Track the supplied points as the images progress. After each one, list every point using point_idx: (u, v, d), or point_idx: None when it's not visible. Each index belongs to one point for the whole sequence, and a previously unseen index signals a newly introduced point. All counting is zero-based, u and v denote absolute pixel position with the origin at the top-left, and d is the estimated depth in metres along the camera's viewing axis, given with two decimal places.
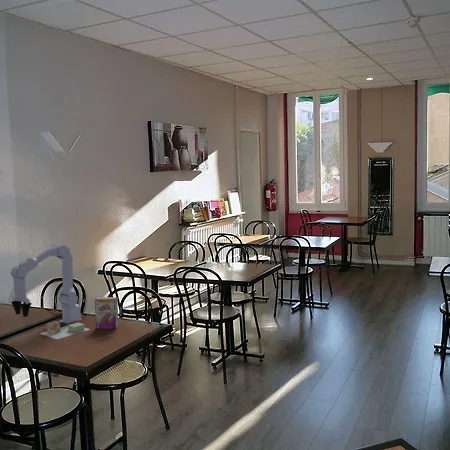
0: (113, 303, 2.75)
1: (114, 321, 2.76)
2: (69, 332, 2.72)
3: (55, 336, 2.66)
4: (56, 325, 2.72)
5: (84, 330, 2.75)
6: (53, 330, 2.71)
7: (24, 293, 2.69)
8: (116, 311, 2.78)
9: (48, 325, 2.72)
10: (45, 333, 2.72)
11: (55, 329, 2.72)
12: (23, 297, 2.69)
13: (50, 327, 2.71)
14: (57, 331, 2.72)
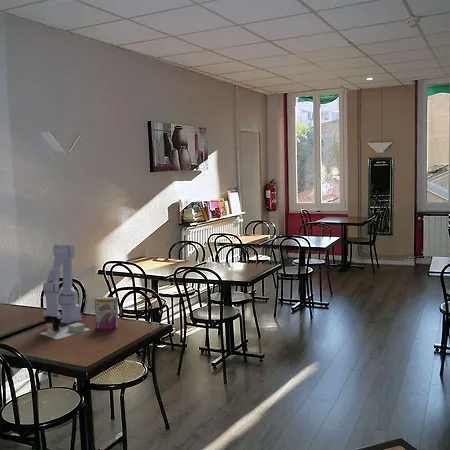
0: (113, 303, 2.75)
1: (114, 321, 2.76)
2: (69, 332, 2.72)
3: (55, 336, 2.66)
4: None
5: (84, 330, 2.75)
6: (53, 330, 2.71)
7: (56, 308, 2.71)
8: (116, 311, 2.78)
9: (48, 325, 2.72)
10: (45, 333, 2.72)
11: None
12: (55, 312, 2.70)
13: (50, 327, 2.71)
14: (57, 331, 2.72)
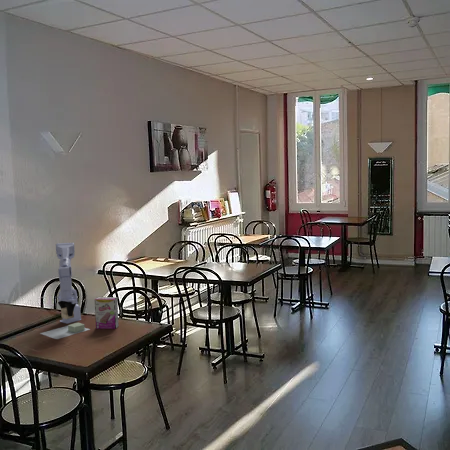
0: (113, 303, 2.75)
1: (114, 321, 2.76)
2: (69, 332, 2.72)
3: (55, 336, 2.66)
4: None
5: (84, 330, 2.75)
6: (67, 315, 2.71)
7: (70, 293, 2.71)
8: (116, 311, 2.78)
9: (62, 310, 2.72)
10: (45, 333, 2.72)
11: None
12: (69, 297, 2.71)
13: (64, 312, 2.71)
14: (71, 316, 2.73)
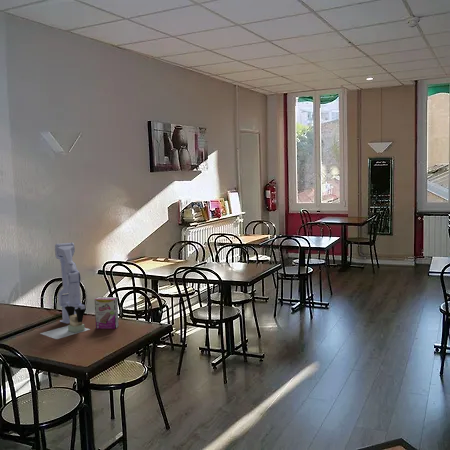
0: (113, 303, 2.75)
1: (114, 321, 2.76)
2: (69, 332, 2.72)
3: (55, 336, 2.66)
4: None
5: (84, 330, 2.75)
6: (76, 322, 2.72)
7: (78, 299, 2.73)
8: (116, 311, 2.78)
9: (70, 317, 2.74)
10: (45, 333, 2.72)
11: (78, 322, 2.73)
12: (78, 303, 2.72)
13: (73, 319, 2.72)
14: (79, 323, 2.74)
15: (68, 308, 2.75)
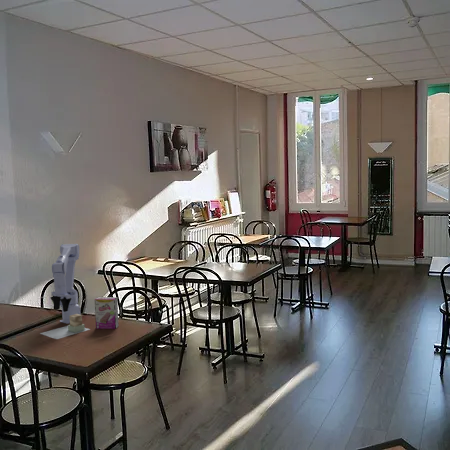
0: (113, 303, 2.75)
1: (114, 321, 2.76)
2: (69, 332, 2.72)
3: (55, 336, 2.66)
4: (78, 317, 2.74)
5: (84, 330, 2.75)
6: (76, 322, 2.72)
7: (64, 288, 2.76)
8: (116, 311, 2.78)
9: (70, 317, 2.74)
10: (45, 333, 2.72)
11: (78, 322, 2.73)
12: (63, 292, 2.76)
13: (73, 319, 2.72)
14: (79, 323, 2.74)
15: (54, 298, 2.79)
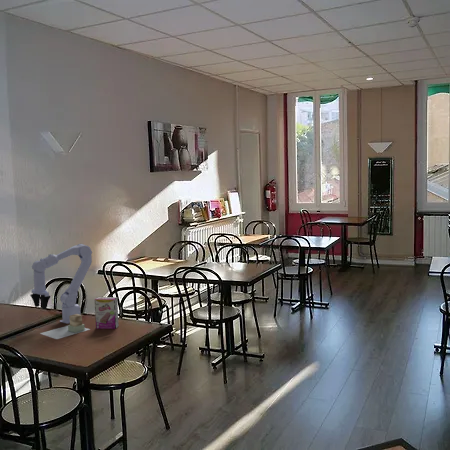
0: (113, 303, 2.75)
1: (114, 321, 2.76)
2: (69, 332, 2.72)
3: (55, 336, 2.66)
4: (78, 317, 2.74)
5: (84, 330, 2.75)
6: (76, 322, 2.72)
7: (43, 286, 2.82)
8: (116, 311, 2.78)
9: (70, 317, 2.74)
10: (45, 333, 2.72)
11: (78, 322, 2.73)
12: (42, 290, 2.82)
13: (73, 319, 2.72)
14: (79, 323, 2.74)
15: (33, 295, 2.85)
